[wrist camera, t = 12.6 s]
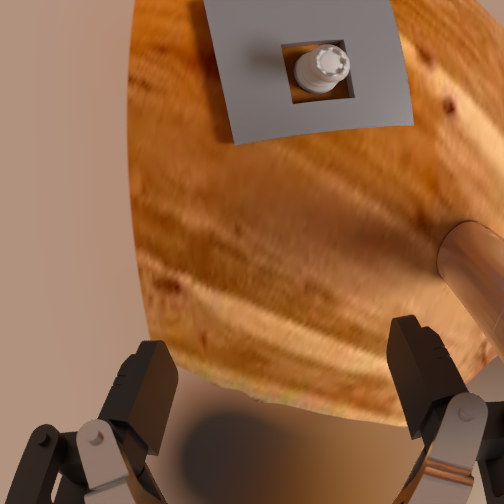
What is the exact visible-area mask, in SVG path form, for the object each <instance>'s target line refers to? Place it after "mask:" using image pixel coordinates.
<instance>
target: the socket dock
mask: <svg viewBox="0 0 504 504" xmlns="http://www.w3.org/2000/svg"><path fill="white" fill-rule="evenodd" d="M203 1H204V5H205V10H206V14H207V19H208V24H209V28H210V33H211V37H212V42H213V46H214V51H215V56H216V60H217V65H218V70H219V74H220V79H221V83H222V88H223V93H224V97H225V102H226V107H227V111H228V116H229V121H230V125H231V130H232V135H233V140H234V144H235V146H236V145H241V144H247V143H252V142H258V141H263V140H269V139H275V138H282V137H288V136H295V135H302V134H310V133H318V132H326V131H335V130H345V129H356V128H368V127H383V126H402V125H414V123H413V114H412V105H411V98H410V91H409V84H408V78H407V72H406V66H405V61H404V56H403V51H402V46H401V42H400V37H399V33H398V29H397V25H396V21H395V17H394V14H393V10H392V7H391V3H390V0H203ZM337 43H339V46H340V49H342V50H343V51H344V52H345V53H346V55H347V57H348V58H349V61H350V70H349V73H348V75H347V76H346V81H347V86H348V92H349V98H347V99H335V100H324V101H315V102H306V103H298V104H293V103H292V97H291V92H290V87H289V82H288V77H287V72H286V67H285V63H284V58H283V53H282V49H281V48H289V47H298V46H308V45H320V44H337Z"/></svg>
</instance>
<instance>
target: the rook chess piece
mask: <svg viewBox="0 0 504 504" xmlns="http://www.w3.org/2000/svg"><path fill="white" fill-rule="evenodd" d="M349 70H350V61H349V58H348V57H347V55H346V53H345V52H344V51H343V50H342V49H340V48H339V47H337V46H334V45H331V44H323V45H320V46H318V47H315V49H314V50H313V51H310V52H308V53H306V54H303V55H302V56H301V57H300V58H299V59H298V60H297V61H296V63H295V66H294V77H295V79H296V81H297V83H298V84H299V86H301V87H302V88H303V89H304V90H306V91H308V92H311V93H314V94H320V93H325V92H328V91H330V90H332V89H333V88H334V87H335V86H336V84H337V83H338V82H339V81H341V80H343V79H344V78H345V77H346V76H347V75H348V73H349Z"/></svg>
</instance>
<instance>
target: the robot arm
mask: <svg viewBox="0 0 504 504" xmlns="http://www.w3.org/2000/svg"><path fill="white" fill-rule="evenodd" d="M437 268H438V272H439V274H440V276H441V277H442V278H443V279H444V281H445V282H446V283H447V284H448V286H449V287H450V288H451V289H452V291H453V292H454V293H455V295H456V296H457V297H458V299H459V300H460V301H461V302H462V304H463V305H464V306H465V308H466V309H467V310H468V312H469V313H470V315H471V316H472V317H473V319H474V320H475V321H476V323H477V324H478V326H479V327H480V328H481V330H482V331H483V333H484V334H485V336H486V337H487V339H488V340H489V342H490V343H491V345H492V346H493V347H494V349H495V350H496V352H497V354H498V355H499V357H500V358H501V360H502V361H503V363H504V239H503V238H502V237H500V236H499V235H498V234H497V233H495V232H494V231H493V230H491V229H490V228H487V229H486V228H485V227H483V226H482V225H481V224H479V223H477V222H473V221H468V222H464V223H461V224H459V225H458V226H456V227H455V228H454V229H452V230H451V231H450V232H449V234H448V235H447V236H446V237H445V239H444V241H443V242H442V244H441V247H440V249H439V252H438V257H437ZM386 354H387V363H388V366H389V369H390V372H391V375H392V378H393V381H394V384H395V387H396V390H397V393H398V396H399V399H400V402H401V405H402V408H403V412H404V415H405V418H406V421H407V425H408V428H409V431H410V435H411V439H412V440H413V439H417V438H420V437H422V439H423V442H424V445H423V447H422V449H421V452H420V454H419V456H418V458H417V460H416V462H415V464H414V466H413V468H412V470H411V472H410V474H409V476H408V478H407V480H406V482H405V484H404V486H403V487H402V489H401V491H400V493H399V494H398V496H397V497H396V498H395V500H394V501H393V503H392V504H466V503H467V500H468V498H469V495H470V493H471V490H472V487H473V483H474V477H473V476H471V473H472V469H473V466H474V463H475V461H477V462H478V466H479V469H480V474H481V478H482V482H483V487H484V491H485V496H486V501H487V504H504V401H501V402H485V401H484V400H483V399H482V398H481V397H480V396H478V395H476V394H474V393H470V392H469V391H468V389H467V388H466V386H465V384H464V382H463V380H462V378H461V376H460V374H459V372H458V370H457V368H456V366H455V364H454V362H453V360H452V358H451V357H450V354H449V353H448V351H447V349H446V348H445V345H444V344H443V342H442V340H441V338H440V336H439V335H438V334H437V333H436V332H435V331H433V330H432V329H431V328H430V327H428V326H427V327H422V328H421V326H420V324H419V322H418V320H417V319H416V317H415V316H414V315H407V316H402V317H397V318H393V319H392V321H391V327H390V333H389V339H388V344H387V351H386ZM177 384H178V371H177V368H176V366H175V364H174V361H173V359H172V357H171V355H170V353H169V351H168V349H167V346H166V344H165V343H164V342H163V341H161V340H158V341H142V342H141V344H140V346H139V348H138V350H137V353H136V354H131V355H130V356H129V357H128V358H127V359H126V360H125V362H124V363H123V364H122V365H121V368H120V370H119V372H118V374H117V377H116V378H115V381H114V383H113V386H112V387H111V389H110V392H109V394H108V396H107V398H106V400H105V403H104V405H103V407H102V410H101V412H100V414H99V417H98V418H97V419H95V420H91V421H88V422H87V423H85V424H84V425H83V426H82V427H81V428H80V429H79V431H77V432H67V433H60V432H59V431H58V430H57V429H56V428H55V427H53V426H52V425H49V424H44V425H41V426H39V427H38V428H36V429H35V430H34V431H33V433H32V434H31V436H30V439H29V441H28V443H27V446H26V449H25V451H24V453H23V455H22V458H21V460H20V463H19V465H18V468H17V471H16V473H15V476H14V479H13V481H12V485H11V487H10V490H9V493H8V496H7V499H6V502H5V504H168V502H167V501H166V499H165V497H164V495H163V494H162V492H161V490H160V488H159V486H158V485H157V483H156V481H155V479H154V477H153V475H152V473H151V471H150V469H149V467H148V465H147V463H146V462H145V459H146V456H147V454H148V455H155V456H158V454H159V450H160V447H161V442H162V439H163V435H164V432H165V427H166V424H167V420H168V417H169V413H170V409H171V406H172V402H173V399H174V395H175V392H176V388H177ZM58 472H59V473H60V474H62V478H61V481H60V484H59V488H58V491H57V494H56V497H55V501H54V503H52V500H51V493H52V490H53V486H54V483H55V480H56V477H57V474H58Z"/></svg>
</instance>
